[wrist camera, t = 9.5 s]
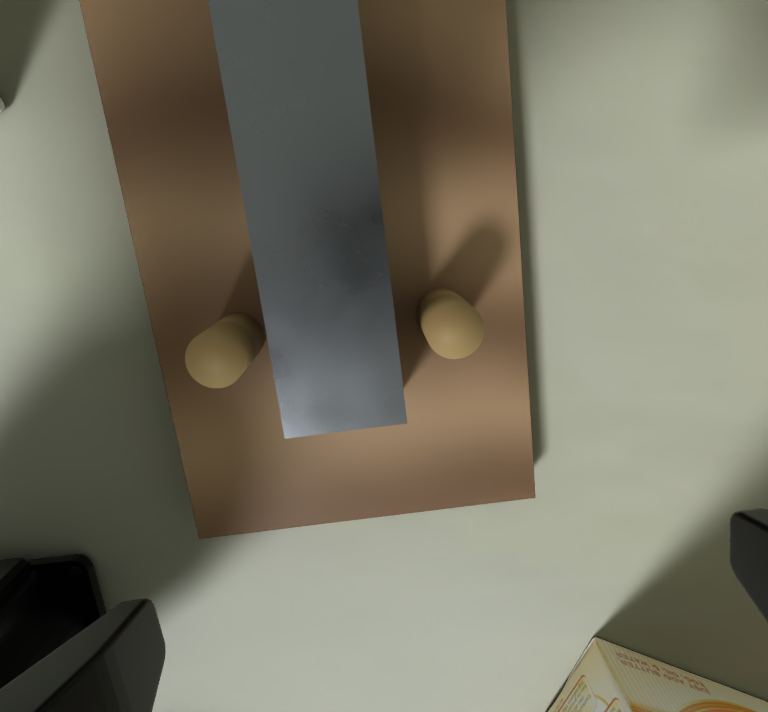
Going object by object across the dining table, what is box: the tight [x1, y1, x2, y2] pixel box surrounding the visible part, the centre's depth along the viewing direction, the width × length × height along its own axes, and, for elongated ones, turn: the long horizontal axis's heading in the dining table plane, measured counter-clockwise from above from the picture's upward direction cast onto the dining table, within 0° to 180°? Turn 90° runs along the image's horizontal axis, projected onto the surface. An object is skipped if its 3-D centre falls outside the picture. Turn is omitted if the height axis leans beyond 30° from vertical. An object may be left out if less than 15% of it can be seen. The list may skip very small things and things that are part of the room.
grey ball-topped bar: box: [208, 0, 407, 439], centre depth 15 cm, size 21×5×3 cm, turn 7°
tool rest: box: [79, 0, 535, 539], centre depth 16 cm, size 26×12×4 cm, turn 7°
